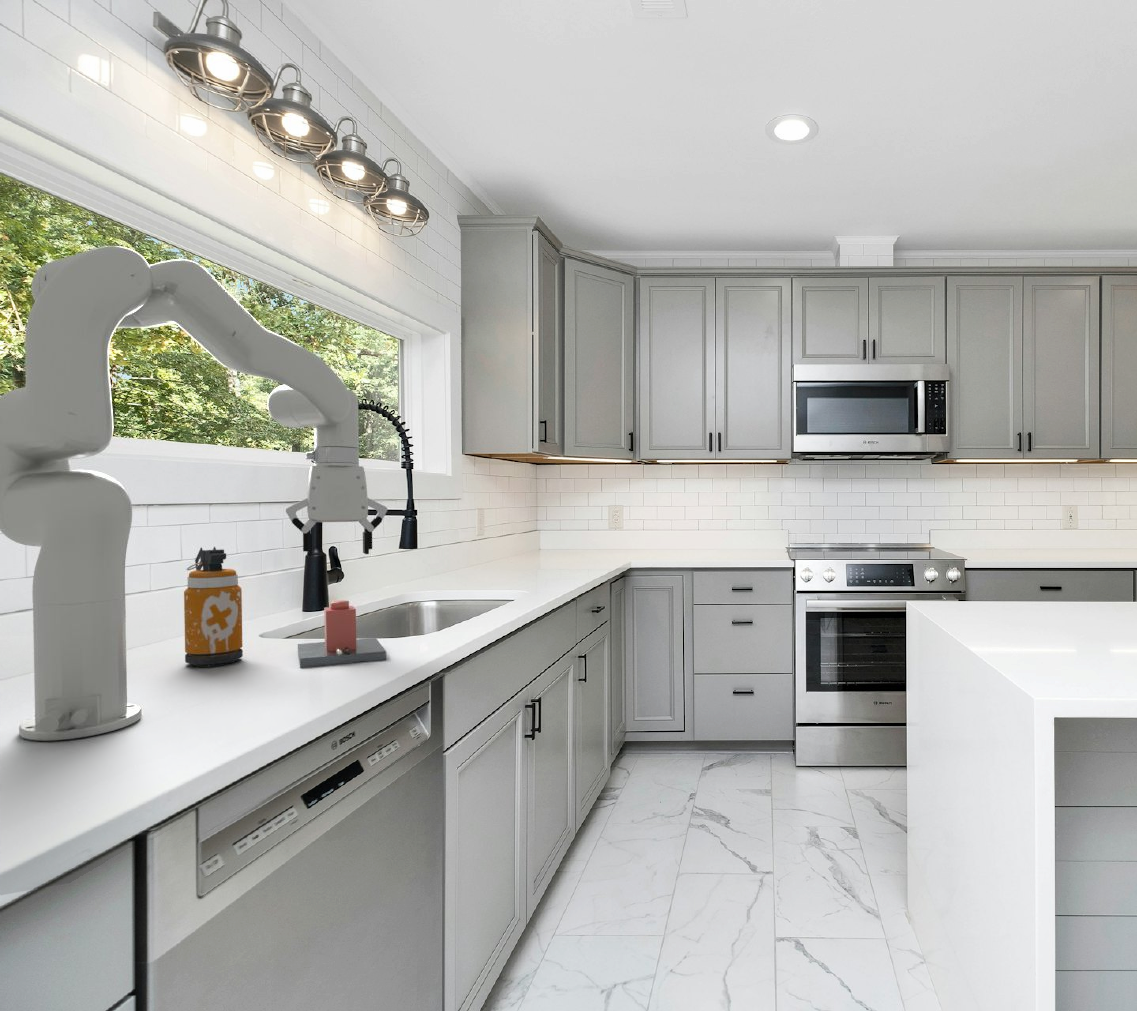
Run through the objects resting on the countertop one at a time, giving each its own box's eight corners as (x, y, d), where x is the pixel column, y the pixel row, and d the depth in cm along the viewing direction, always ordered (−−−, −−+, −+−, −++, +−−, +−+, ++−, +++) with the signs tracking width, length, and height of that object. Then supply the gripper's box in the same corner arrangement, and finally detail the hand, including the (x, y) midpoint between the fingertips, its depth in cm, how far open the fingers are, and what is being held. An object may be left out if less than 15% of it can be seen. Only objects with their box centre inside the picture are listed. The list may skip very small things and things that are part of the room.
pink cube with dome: (356, 648, 129) (355, 602, 129) (326, 651, 127) (325, 604, 127) (353, 643, 134) (352, 599, 134) (324, 646, 132) (324, 601, 132)
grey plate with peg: (386, 660, 126) (385, 625, 126) (300, 668, 121) (299, 632, 121) (375, 645, 140) (375, 614, 140) (297, 652, 135) (297, 619, 134)
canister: (193, 671, 120) (191, 549, 120) (176, 660, 129) (174, 547, 129) (249, 662, 126) (247, 546, 126) (229, 653, 135) (228, 544, 134)
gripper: (285, 456, 124) (286, 557, 124) (389, 458, 130) (390, 554, 130) (284, 459, 131) (285, 555, 131) (383, 460, 137) (384, 552, 137)
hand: (338, 554), depth 130 cm, fingers open, 9 cm apart
